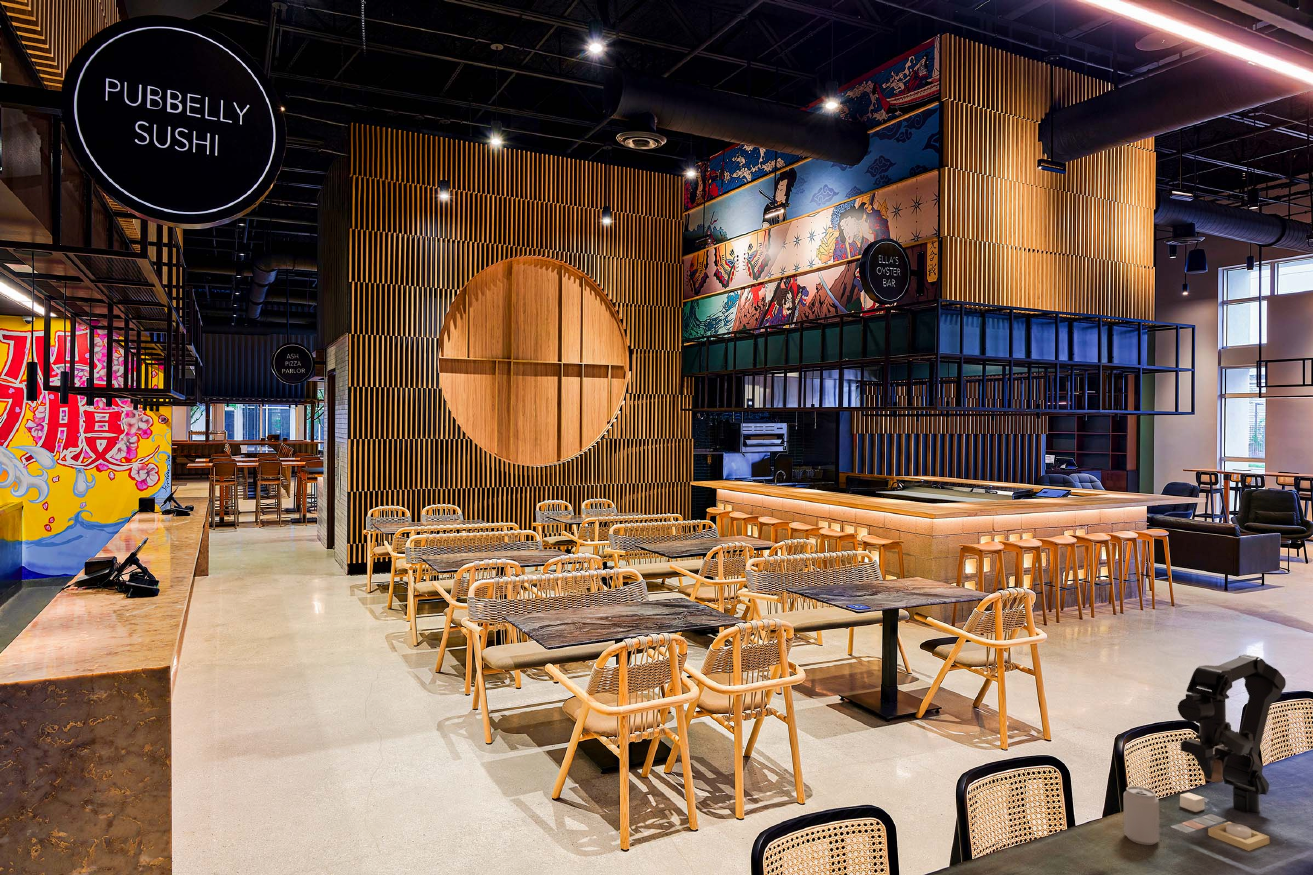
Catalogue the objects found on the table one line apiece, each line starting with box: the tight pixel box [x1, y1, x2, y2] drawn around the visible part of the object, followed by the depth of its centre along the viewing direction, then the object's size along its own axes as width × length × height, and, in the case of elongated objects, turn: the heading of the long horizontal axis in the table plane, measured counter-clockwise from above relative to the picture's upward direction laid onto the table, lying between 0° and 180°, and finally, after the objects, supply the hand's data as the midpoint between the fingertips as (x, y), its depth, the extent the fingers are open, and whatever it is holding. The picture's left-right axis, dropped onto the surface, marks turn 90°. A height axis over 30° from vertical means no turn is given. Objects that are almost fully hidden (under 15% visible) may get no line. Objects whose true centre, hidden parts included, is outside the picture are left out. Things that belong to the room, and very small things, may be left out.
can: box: [1122, 785, 1160, 846], centre depth 198 cm, size 8×8×12 cm
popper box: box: [1207, 821, 1270, 852], centre depth 196 cm, size 9×9×2 cm
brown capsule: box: [1203, 759, 1224, 783], centre depth 209 cm, size 4×4×5 cm
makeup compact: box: [1170, 813, 1227, 834], centre depth 205 cm, size 18×7×1 cm, turn 116°
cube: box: [1179, 791, 1205, 813], centre depth 215 cm, size 4×4×4 cm
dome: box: [1226, 822, 1252, 840], centre depth 196 cm, size 5×5×3 cm
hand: (1213, 777), depth 208 cm, fingers closed on brown capsule, 4 cm apart
